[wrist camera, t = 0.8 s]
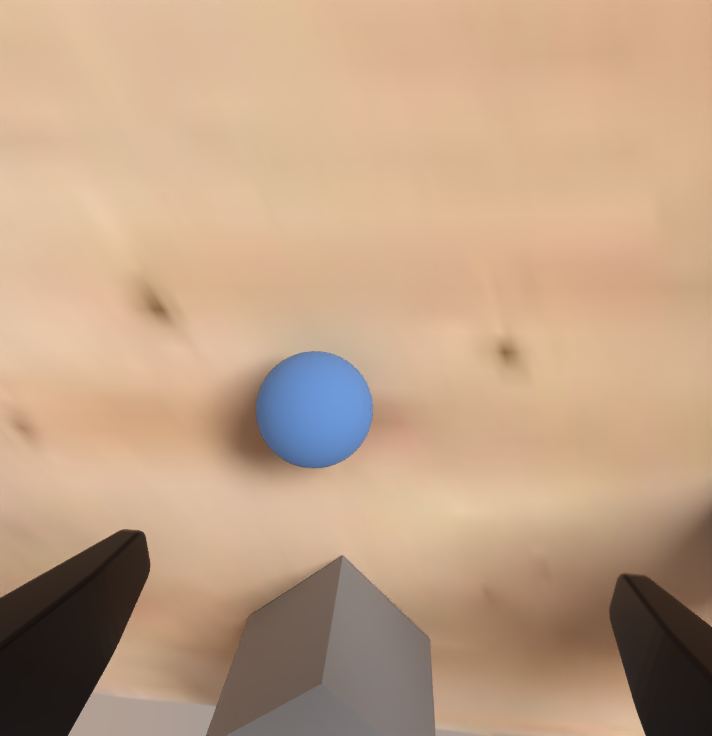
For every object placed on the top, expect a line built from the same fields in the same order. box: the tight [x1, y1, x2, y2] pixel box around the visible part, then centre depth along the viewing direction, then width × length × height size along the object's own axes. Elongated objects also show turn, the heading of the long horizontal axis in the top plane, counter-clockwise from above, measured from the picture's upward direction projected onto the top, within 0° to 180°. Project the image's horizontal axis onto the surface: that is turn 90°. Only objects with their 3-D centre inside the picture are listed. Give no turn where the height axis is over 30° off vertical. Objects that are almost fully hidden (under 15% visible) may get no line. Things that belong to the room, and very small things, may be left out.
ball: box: [256, 351, 373, 468], centre depth 20 cm, size 5×5×5 cm
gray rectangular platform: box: [206, 556, 435, 736], centre depth 25 cm, size 8×8×7 cm
